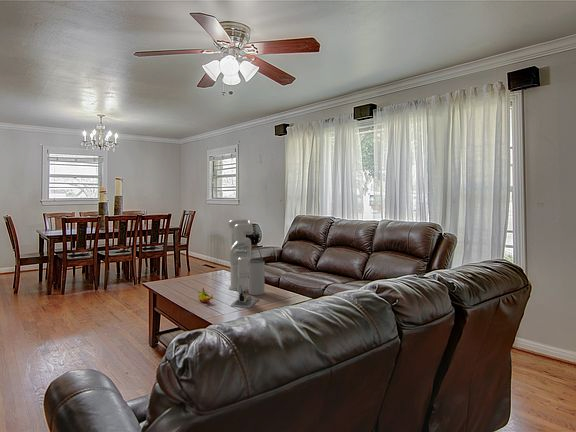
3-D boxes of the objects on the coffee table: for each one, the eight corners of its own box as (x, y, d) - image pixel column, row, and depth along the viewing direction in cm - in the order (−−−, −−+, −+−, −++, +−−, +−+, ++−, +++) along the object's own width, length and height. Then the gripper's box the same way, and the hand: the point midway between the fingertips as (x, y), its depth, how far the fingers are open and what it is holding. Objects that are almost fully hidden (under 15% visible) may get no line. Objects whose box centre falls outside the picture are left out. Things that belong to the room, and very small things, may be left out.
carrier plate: (240, 298, 278) (240, 295, 278) (258, 299, 275) (258, 296, 275) (230, 306, 259) (230, 302, 258) (249, 307, 256) (249, 304, 255)
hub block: (241, 300, 266) (241, 293, 265) (247, 300, 265) (247, 293, 264) (238, 301, 261) (238, 294, 261) (245, 302, 260) (244, 295, 260)
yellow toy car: (204, 305, 260) (204, 291, 260) (194, 299, 275) (194, 286, 274) (213, 303, 264) (213, 290, 264) (203, 298, 279) (203, 284, 278)
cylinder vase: (265, 291, 297) (265, 260, 296) (263, 295, 285) (263, 263, 283) (250, 291, 299) (250, 260, 297) (247, 295, 286) (247, 263, 285)
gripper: (242, 271, 271) (242, 296, 272) (233, 277, 254) (233, 303, 255) (251, 272, 269) (251, 297, 270) (244, 277, 253) (244, 304, 254)
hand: (243, 299), depth 263 cm, fingers closed on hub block, 4 cm apart
